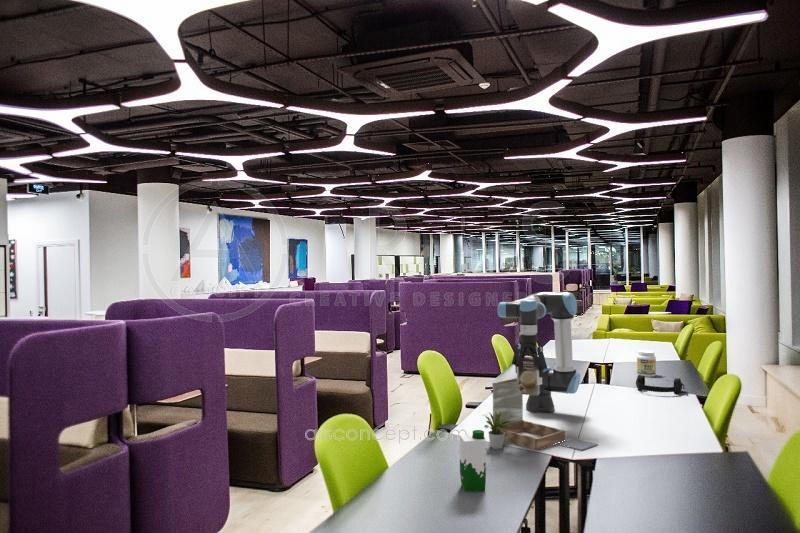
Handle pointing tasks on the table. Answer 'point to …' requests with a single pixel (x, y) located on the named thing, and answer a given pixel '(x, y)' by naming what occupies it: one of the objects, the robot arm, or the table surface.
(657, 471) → the table surface
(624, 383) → the table surface
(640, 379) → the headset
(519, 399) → the frame
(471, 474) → the milk carton
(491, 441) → the house plant
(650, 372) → the supplement tub
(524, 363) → the coffee box
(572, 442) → the mat
